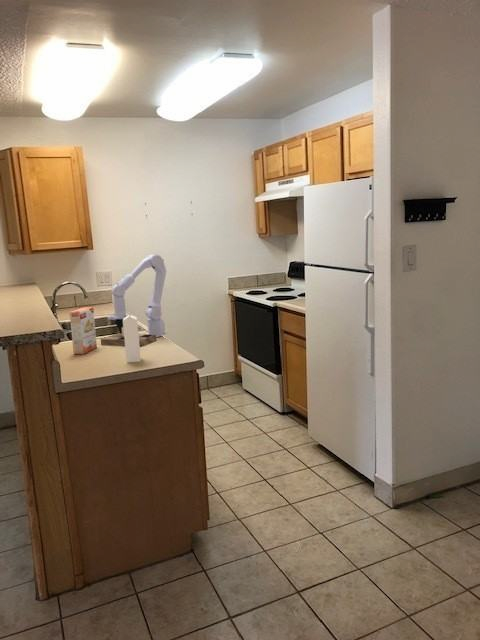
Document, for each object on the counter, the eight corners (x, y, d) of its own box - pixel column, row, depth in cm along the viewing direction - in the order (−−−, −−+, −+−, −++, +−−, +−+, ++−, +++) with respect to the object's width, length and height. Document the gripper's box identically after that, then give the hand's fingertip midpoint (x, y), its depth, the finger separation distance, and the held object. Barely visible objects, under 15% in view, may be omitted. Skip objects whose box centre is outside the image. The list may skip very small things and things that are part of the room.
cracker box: (84, 354, 255) (80, 311, 251) (73, 354, 256) (68, 311, 253) (98, 347, 269) (93, 306, 265) (87, 347, 270) (82, 307, 266)
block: (127, 334, 283) (126, 325, 282) (134, 334, 281) (133, 326, 280) (122, 336, 279) (121, 327, 278) (129, 336, 277) (128, 327, 276)
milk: (140, 358, 241) (136, 310, 238) (140, 361, 236) (136, 312, 232) (127, 359, 241) (122, 311, 237) (126, 362, 235) (122, 313, 231)
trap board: (118, 338, 288) (118, 333, 288) (156, 340, 278) (155, 334, 278) (101, 344, 275) (100, 339, 274) (140, 346, 265) (139, 340, 264)
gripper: (103, 309, 278) (106, 334, 281) (126, 309, 273) (129, 335, 275) (112, 306, 285) (114, 331, 287) (134, 307, 279) (136, 332, 281)
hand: (122, 333), depth 281 cm, fingers closed
